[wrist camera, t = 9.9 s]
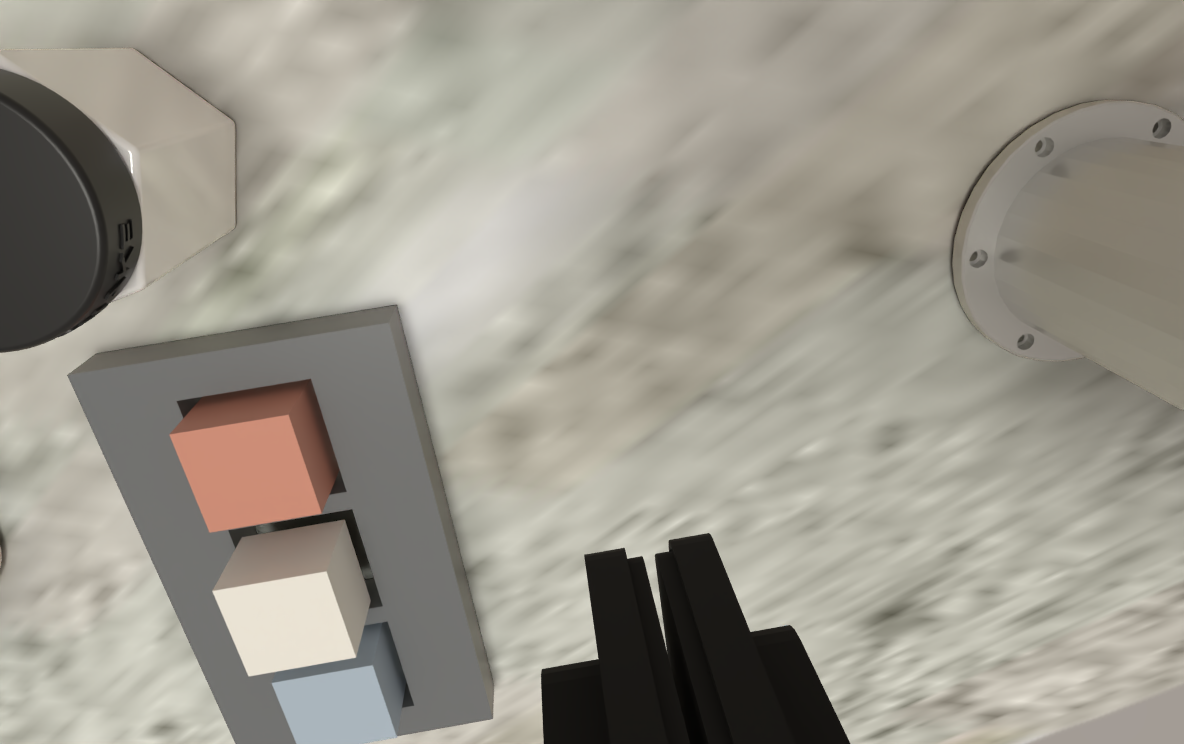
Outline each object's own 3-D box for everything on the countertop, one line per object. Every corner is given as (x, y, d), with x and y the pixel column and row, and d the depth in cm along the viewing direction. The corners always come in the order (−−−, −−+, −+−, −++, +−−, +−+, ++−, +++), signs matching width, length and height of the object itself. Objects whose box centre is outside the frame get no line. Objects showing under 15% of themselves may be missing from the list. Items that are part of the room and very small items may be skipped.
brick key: (311, 376, 36) (288, 414, 32) (340, 468, 38) (321, 513, 34) (204, 394, 36) (169, 434, 32) (239, 485, 38) (209, 532, 34)
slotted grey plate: (396, 304, 36) (388, 322, 34) (493, 685, 46) (493, 719, 43) (95, 353, 36) (67, 375, 33) (258, 727, 45) (244, 763, 43)
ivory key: (344, 519, 37) (326, 571, 34) (370, 600, 39) (356, 657, 36) (241, 537, 37) (212, 590, 34) (273, 617, 39) (248, 676, 36)
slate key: (385, 610, 42) (372, 665, 38) (406, 679, 44) (397, 737, 40) (292, 626, 41) (271, 683, 38) (318, 694, 43) (300, 754, 40)
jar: (102, 286, 34) (-90, 400, 23) (-18, 106, 31) (-307, 140, 20) (285, 213, 34) (176, 294, 23) (182, 22, 31) (-2, 11, 20)
